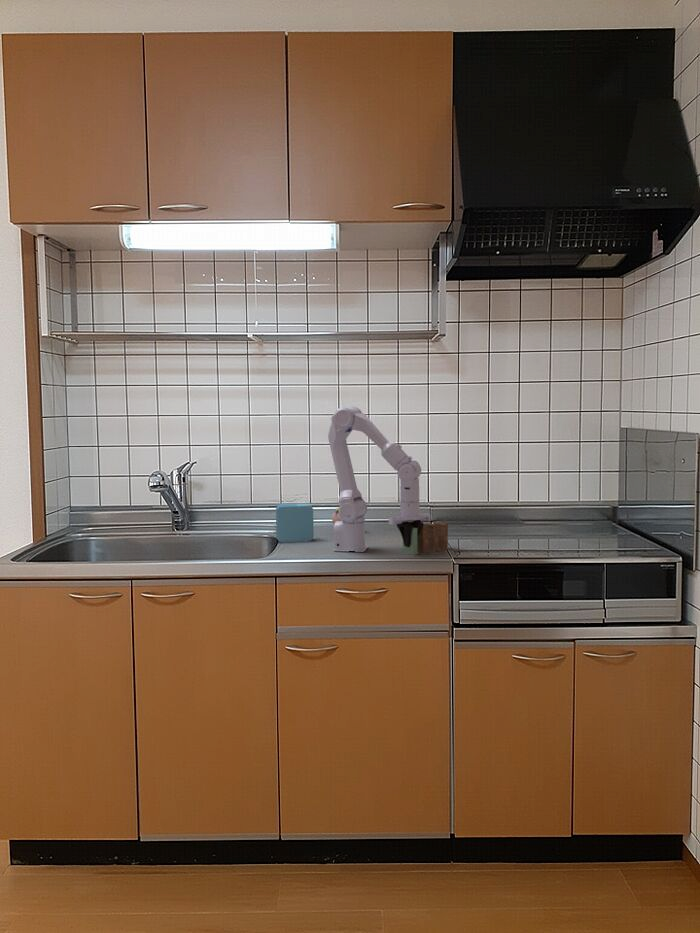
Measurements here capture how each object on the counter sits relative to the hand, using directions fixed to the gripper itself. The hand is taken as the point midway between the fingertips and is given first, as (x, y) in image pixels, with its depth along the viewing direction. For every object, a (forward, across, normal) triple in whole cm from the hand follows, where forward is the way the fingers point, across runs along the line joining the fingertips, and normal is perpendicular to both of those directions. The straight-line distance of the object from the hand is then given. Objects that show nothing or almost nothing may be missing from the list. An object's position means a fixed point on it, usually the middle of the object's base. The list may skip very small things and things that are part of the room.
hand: (410, 546), depth 240 cm
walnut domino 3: (+2, +12, 0) cm, 12 cm away
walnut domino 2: (+2, +8, 0) cm, 8 cm away
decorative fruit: (+2, +4, +40) cm, 41 cm away
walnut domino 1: (+2, +4, 0) cm, 5 cm away
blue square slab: (+2, -18, +39) cm, 43 cm away
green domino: (+2, 0, 0) cm, 2 cm away
